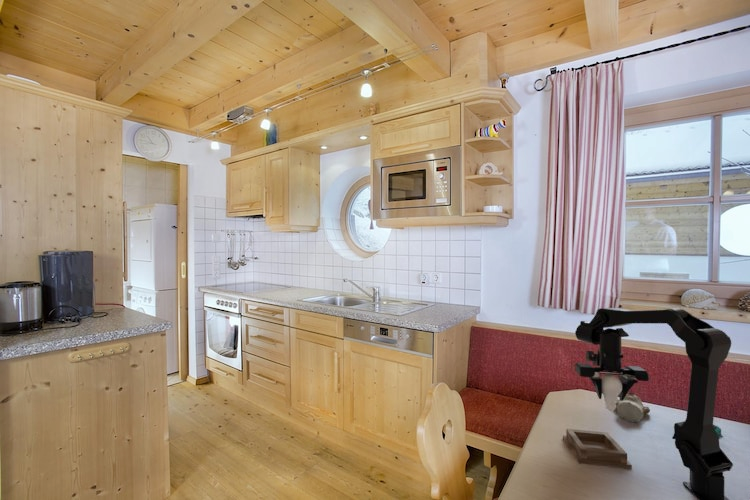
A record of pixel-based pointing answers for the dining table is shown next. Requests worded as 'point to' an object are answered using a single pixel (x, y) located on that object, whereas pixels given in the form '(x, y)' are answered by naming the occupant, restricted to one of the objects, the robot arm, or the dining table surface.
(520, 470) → the dining table surface
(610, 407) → the lightbulb
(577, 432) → the bulb holder
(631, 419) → the ceramic sculpture
